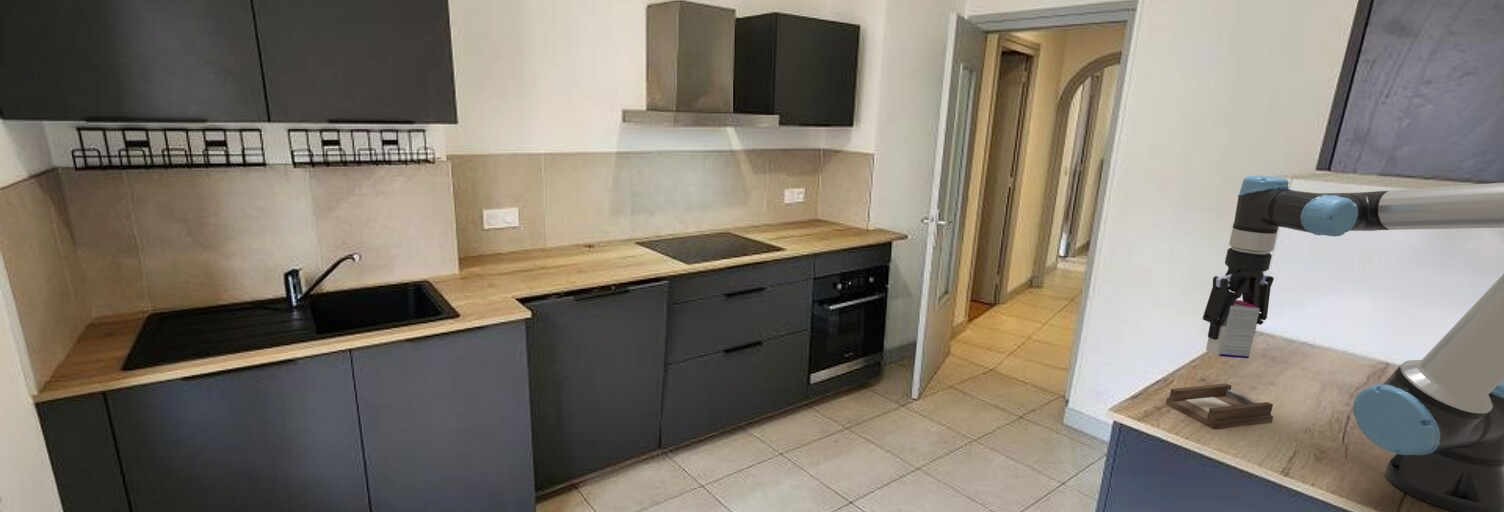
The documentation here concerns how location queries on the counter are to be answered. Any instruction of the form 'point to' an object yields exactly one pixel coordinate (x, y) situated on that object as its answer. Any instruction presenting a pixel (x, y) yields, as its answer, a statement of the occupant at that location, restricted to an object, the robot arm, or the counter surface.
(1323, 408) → the counter surface
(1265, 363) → the counter surface
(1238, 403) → the brown wooden tray
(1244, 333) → the supplement box
